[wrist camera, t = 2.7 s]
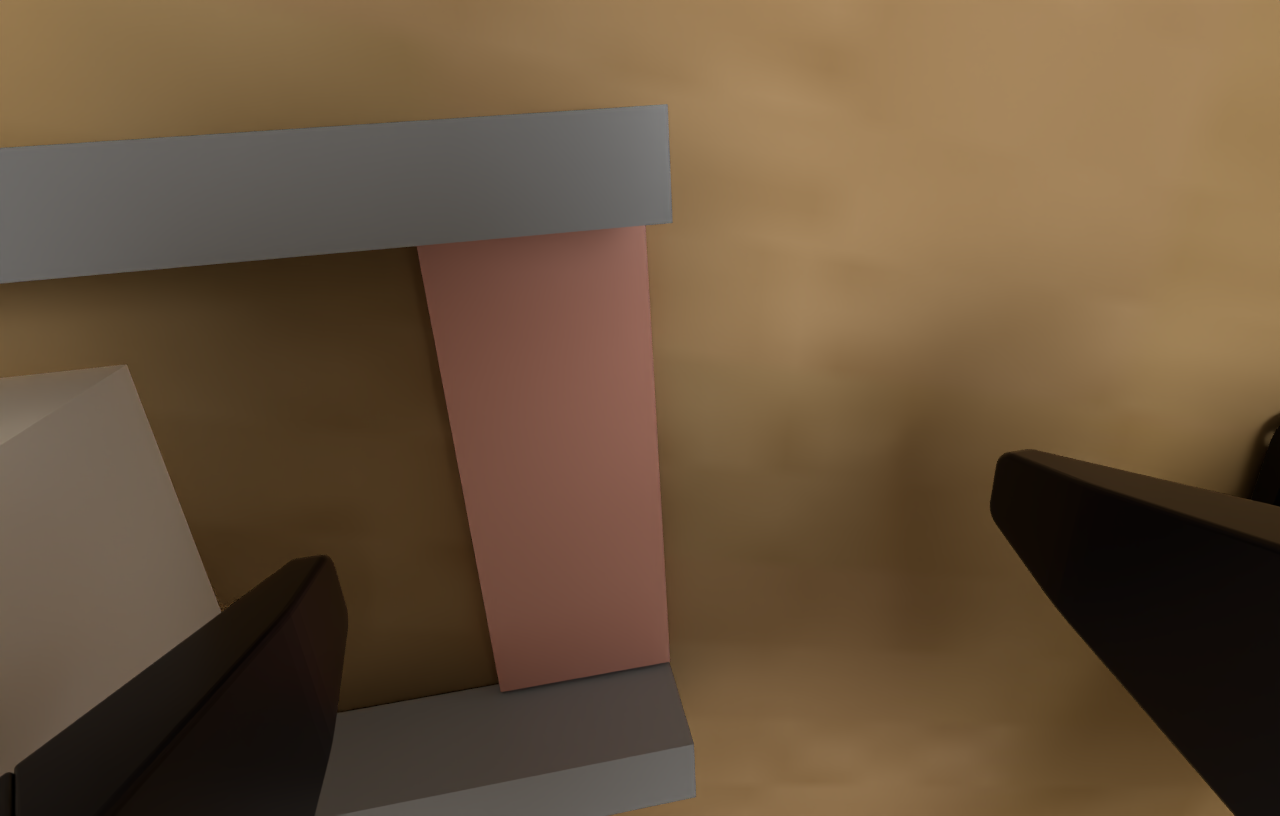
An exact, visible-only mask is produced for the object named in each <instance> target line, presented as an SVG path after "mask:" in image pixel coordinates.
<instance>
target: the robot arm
mask: <svg viewBox="0 0 1280 816" xmlns="http://www.w3.org/2000/svg"><path fill="white" fill-rule="evenodd" d="M990 511H991V515H992V518H993V520H994V522H995V523H996V525H997V526H998V528H999V529H1000V530H1001V532H1002V533H1003V535H1004V536H1005V538H1006V539H1007V540H1008V542H1009V543H1010V545H1011V546H1012V547H1013V549H1014V550H1015V552H1016V553H1017V554H1018V556H1019V557H1020V559H1021V560H1022V561H1023V563H1024V564H1025V566H1026V567H1027V568H1028V570H1029V571H1030V573H1031V574H1032V576H1033V577H1034V578H1035V580H1036V581H1037V583H1038V584H1039V585H1040V587H1041V588H1042V590H1043V591H1044V592H1045V594H1046V595H1047V596H1048V598H1049V599H1050V600H1051V602H1052V603H1053V604H1054V606H1055V607H1056V608H1057V610H1058V611H1059V612H1060V613H1061V614H1062V616H1063V617H1064V618H1065V619H1066V621H1067V622H1068V623H1069V624H1070V625H1071V626H1072V628H1073V629H1074V630H1075V631H1076V632H1077V633H1078V635H1079V636H1080V637H1081V638H1082V639H1083V640H1084V642H1085V643H1086V644H1087V645H1088V646H1089V647H1090V648H1091V650H1092V651H1093V652H1094V653H1095V654H1096V655H1097V657H1098V658H1099V659H1100V660H1101V661H1102V662H1103V664H1104V665H1105V666H1106V667H1107V668H1108V669H1109V670H1110V672H1111V673H1112V674H1113V675H1114V676H1115V677H1116V679H1117V680H1118V681H1119V682H1120V683H1121V684H1122V686H1123V687H1124V688H1125V689H1126V690H1127V691H1128V693H1129V694H1130V695H1131V696H1132V697H1133V698H1134V699H1135V701H1136V702H1137V703H1138V704H1139V705H1140V706H1141V708H1142V709H1143V710H1144V711H1145V712H1146V713H1147V715H1148V716H1149V717H1150V718H1151V719H1152V720H1153V722H1154V723H1155V724H1156V725H1157V726H1158V727H1159V728H1160V730H1161V731H1162V732H1163V733H1164V734H1165V735H1166V737H1167V738H1168V739H1169V740H1170V741H1171V742H1172V744H1173V745H1174V746H1175V747H1176V748H1177V749H1178V751H1179V752H1180V753H1181V754H1182V755H1183V756H1184V757H1185V759H1186V760H1187V761H1188V762H1189V763H1190V764H1191V766H1192V767H1193V768H1194V769H1195V770H1196V771H1197V773H1198V774H1199V775H1200V776H1201V777H1202V778H1203V779H1204V781H1205V782H1206V783H1207V784H1208V785H1209V786H1210V788H1211V789H1212V790H1213V791H1214V792H1215V793H1216V795H1217V796H1218V797H1219V798H1220V799H1221V800H1222V802H1223V803H1224V804H1225V805H1226V806H1227V807H1228V808H1229V810H1230V811H1231V812H1232V813H1233V814H1234V815H1235V816H1280V426H1279V427H1278V428H1277V430H1276V431H1275V433H1274V435H1273V437H1272V439H1271V441H1270V444H1269V447H1268V450H1267V453H1266V456H1265V459H1264V462H1263V465H1262V468H1261V470H1260V473H1259V476H1258V479H1257V482H1256V485H1255V488H1254V491H1253V494H1252V497H1251V500H1249V499H1244V498H1240V497H1236V496H1231V495H1227V494H1223V493H1218V492H1214V491H1210V490H1205V489H1201V488H1197V487H1193V486H1188V485H1184V484H1180V483H1175V482H1171V481H1167V480H1162V479H1158V478H1154V477H1149V476H1145V475H1141V474H1137V473H1132V472H1128V471H1124V470H1119V469H1115V468H1111V467H1106V466H1102V465H1098V464H1093V463H1089V462H1085V461H1081V460H1076V459H1072V458H1068V457H1063V456H1059V455H1055V454H1050V453H1046V452H1042V451H1037V450H1032V449H1026V450H1020V451H1013V452H1008V453H1004V454H1003V455H1002V456H1000V458H999V459H998V461H997V464H996V470H995V476H994V482H993V488H992V494H991V500H990ZM347 631H348V613H347V608H346V604H345V601H344V597H343V594H342V590H341V587H340V583H339V580H338V576H337V573H336V569H335V566H334V563H333V561H332V560H331V558H330V557H329V556H327V555H317V556H310V557H303V558H296V559H293V560H291V561H290V562H288V563H287V564H286V565H284V566H283V567H282V568H280V569H279V570H278V571H276V572H275V573H274V574H272V575H271V576H270V577H268V578H267V579H265V580H264V581H263V582H261V583H260V584H259V585H257V586H256V587H255V588H253V589H252V590H251V591H249V592H248V593H247V594H245V595H244V596H243V597H241V598H240V599H239V600H237V601H236V602H235V603H233V604H232V605H231V606H229V607H228V608H227V609H225V610H224V611H222V612H221V613H220V614H218V615H217V616H216V617H214V618H213V619H212V620H210V621H209V622H208V623H206V624H205V625H204V626H202V627H201V628H200V629H198V630H197V631H196V632H194V633H193V634H192V635H190V636H189V637H188V638H186V639H185V640H184V641H182V642H181V643H179V644H178V645H177V646H175V647H174V648H173V649H171V650H170V651H169V652H167V653H166V654H165V655H163V656H162V657H161V658H159V659H158V660H157V661H155V662H154V663H153V664H151V665H150V666H149V667H147V668H146V669H145V670H143V671H142V672H141V673H139V674H138V675H136V676H135V677H134V678H132V679H131V680H130V681H128V682H127V683H126V684H124V685H123V686H122V687H120V688H119V689H118V690H116V691H115V692H114V693H112V694H111V695H110V696H108V697H107V698H106V699H104V700H103V701H102V702H100V703H99V704H98V705H96V706H95V707H93V708H92V709H91V710H89V711H88V712H87V713H85V714H84V715H83V716H81V717H80V718H79V719H77V720H76V721H75V722H73V723H72V724H71V725H69V726H68V727H67V728H65V729H64V730H63V731H61V732H60V733H59V734H57V735H56V736H55V737H53V738H52V739H50V740H49V741H48V742H46V743H45V744H44V745H42V746H41V747H40V748H38V749H37V750H36V751H34V752H33V753H32V754H30V755H29V756H28V757H26V758H25V759H24V760H22V761H21V762H20V763H18V764H17V765H16V766H15V768H14V773H12V772H7V773H5V774H3V775H2V776H0V816H315V813H316V809H317V805H318V801H319V797H320V793H321V789H322V785H323V781H324V777H325V774H326V770H327V766H328V761H329V757H330V752H331V748H332V743H333V737H334V731H335V724H336V717H337V709H338V701H339V694H340V686H341V678H342V670H343V662H344V655H345V647H346V639H347Z"/></svg>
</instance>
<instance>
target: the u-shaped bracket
mask: <svg viewBox="0 0 1280 816" xmlns="http://www.w3.org/2000/svg"><path fill="white" fill-rule="evenodd" d="M665 223H672V200H671V175H670V151H669V127H668V104H665V105H650V106H635V107H620V108H604V109H589V110H574V111H559V112H543V113H528V114H513V115H498V116H482V117H467V118H452V119H437V120H421V121H406V122H391V123H376V124H360V125H345V126H330V127H315V128H299V129H284V130H269V131H254V132H238V133H223V134H208V135H193V136H177V137H162V138H147V139H132V140H116V141H101V142H86V143H70V144H55V145H40V146H25V147H9V148H0V283H11V282H22V281H33V280H45V279H56V278H67V277H78V276H89V275H100V274H111V273H122V272H133V271H144V270H155V269H166V268H178V267H189V266H200V265H211V264H222V263H233V262H244V261H255V260H266V259H277V258H288V257H299V256H311V255H322V254H333V253H344V252H355V251H366V250H377V249H388V248H399V247H410V246H417V251H418V257H419V262H420V267H421V273H422V278H423V283H424V288H425V294H426V299H427V304H428V310H429V315H430V320H431V325H432V331H433V336H434V341H435V347H436V352H437V357H438V363H439V368H440V373H441V378H442V384H443V389H444V394H445V400H446V405H447V410H448V415H449V421H450V426H451V431H452V437H453V442H454V447H455V453H456V458H457V463H458V468H459V474H460V479H461V484H462V490H463V495H464V500H465V506H466V511H467V516H468V521H469V527H470V532H471V537H472V543H473V548H474V553H475V558H476V564H477V569H478V574H479V580H480V585H481V590H482V596H483V601H484V606H485V611H486V617H487V622H488V627H489V633H490V638H491V643H492V649H493V654H494V659H495V664H496V670H497V675H498V680H499V684H497V685H492V686H486V687H481V688H475V689H469V690H464V691H458V692H453V693H447V694H442V695H436V696H430V697H425V698H419V699H414V700H408V701H402V702H397V703H391V704H386V705H380V706H375V707H369V708H363V709H358V710H352V711H347V712H341V713H337V717H336V724H335V731H334V737H333V743H332V748H331V752H330V757H329V761H328V766H327V770H326V774H325V777H324V781H323V785H322V789H321V793H320V797H319V801H318V805H317V809H316V813H315V816H608V815H613V814H618V813H622V812H627V811H632V810H637V809H641V808H646V807H651V806H656V805H660V804H665V803H670V802H675V801H679V800H684V799H689V798H694V797H696V782H695V758H694V743H693V739H692V736H691V733H690V729H689V726H688V723H687V719H686V716H685V713H684V709H683V706H682V703H681V699H680V696H679V693H678V689H677V686H676V683H675V679H674V676H673V673H672V669H671V666H670V663H669V662H670V649H669V632H668V614H667V596H666V579H665V561H664V543H663V526H662V508H661V490H660V473H659V455H658V437H657V419H656V402H655V384H654V366H653V349H652V331H651V313H650V296H649V278H648V260H647V243H646V225H654V224H665Z"/></svg>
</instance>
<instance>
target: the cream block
mask: <svg viewBox="0 0 1280 816" xmlns="http://www.w3.org/2000/svg"><path fill="white" fill-rule="evenodd" d="M220 613H221V610H220V607H219V605H218V602H217V600H216V597H215V594H214V592H213V589H212V586H211V584H210V581H209V579H208V576H207V573H206V571H205V568H204V565H203V563H202V560H201V558H200V555H199V552H198V550H197V547H196V545H195V542H194V539H193V537H192V534H191V531H190V529H189V526H188V524H187V521H186V518H185V516H184V513H183V510H182V508H181V505H180V503H179V500H178V497H177V495H176V492H175V490H174V487H173V484H172V482H171V479H170V476H169V474H168V471H167V469H166V466H165V463H164V461H163V458H162V455H161V453H160V450H159V448H158V445H157V442H156V440H155V437H154V434H153V432H152V429H151V427H150V424H149V421H148V419H147V416H146V414H145V411H144V408H143V406H142V403H141V400H140V398H139V395H138V393H137V390H136V387H135V385H134V382H133V379H132V377H131V374H130V372H129V369H128V366H127V364H125V365H115V366H106V367H97V368H87V369H78V370H69V371H60V372H50V373H41V374H32V375H22V376H13V377H4V378H0V776H2V775H3V774H5V773H7V772H12V773H14V768H15V766H16V765H17V764H18V763H20V762H21V761H22V760H24V759H25V758H26V757H28V756H29V755H30V754H32V753H33V752H34V751H36V750H37V749H38V748H40V747H41V746H42V745H44V744H45V743H46V742H48V741H49V740H50V739H52V738H53V737H55V736H56V735H57V734H59V733H60V732H61V731H63V730H64V729H65V728H67V727H68V726H69V725H71V724H72V723H73V722H75V721H76V720H77V719H79V718H80V717H81V716H83V715H84V714H85V713H87V712H88V711H89V710H91V709H92V708H93V707H95V706H96V705H98V704H99V703H100V702H102V701H103V700H104V699H106V698H107V697H108V696H110V695H111V694H112V693H114V692H115V691H116V690H118V689H119V688H120V687H122V686H123V685H124V684H126V683H127V682H128V681H130V680H131V679H132V678H134V677H135V676H136V675H138V674H139V673H141V672H142V671H143V670H145V669H146V668H147V667H149V666H150V665H151V664H153V663H154V662H155V661H157V660H158V659H159V658H161V657H162V656H163V655H165V654H166V653H167V652H169V651H170V650H171V649H173V648H174V647H175V646H177V645H178V644H179V643H181V642H182V641H184V640H185V639H186V638H188V637H189V636H190V635H192V634H193V633H194V632H196V631H197V630H198V629H200V628H201V627H202V626H204V625H205V624H206V623H208V622H209V621H210V620H212V619H213V618H214V617H216V616H217V615H218V614H220Z"/></svg>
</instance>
